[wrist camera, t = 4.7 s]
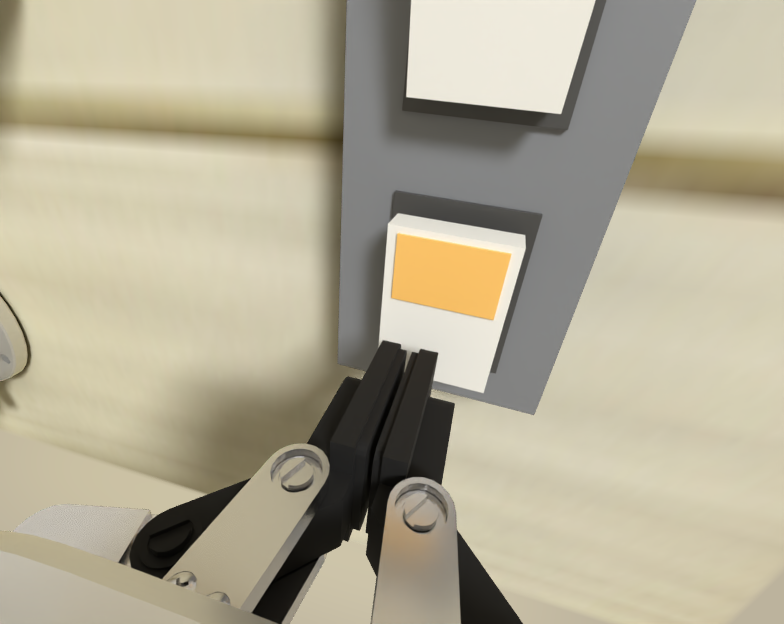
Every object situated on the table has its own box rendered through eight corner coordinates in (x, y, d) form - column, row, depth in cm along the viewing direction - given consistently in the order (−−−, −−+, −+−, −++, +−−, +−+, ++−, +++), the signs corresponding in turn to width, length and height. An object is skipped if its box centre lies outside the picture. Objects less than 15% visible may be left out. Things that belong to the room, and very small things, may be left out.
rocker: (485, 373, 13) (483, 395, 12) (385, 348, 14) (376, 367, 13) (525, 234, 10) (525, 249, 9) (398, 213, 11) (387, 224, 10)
